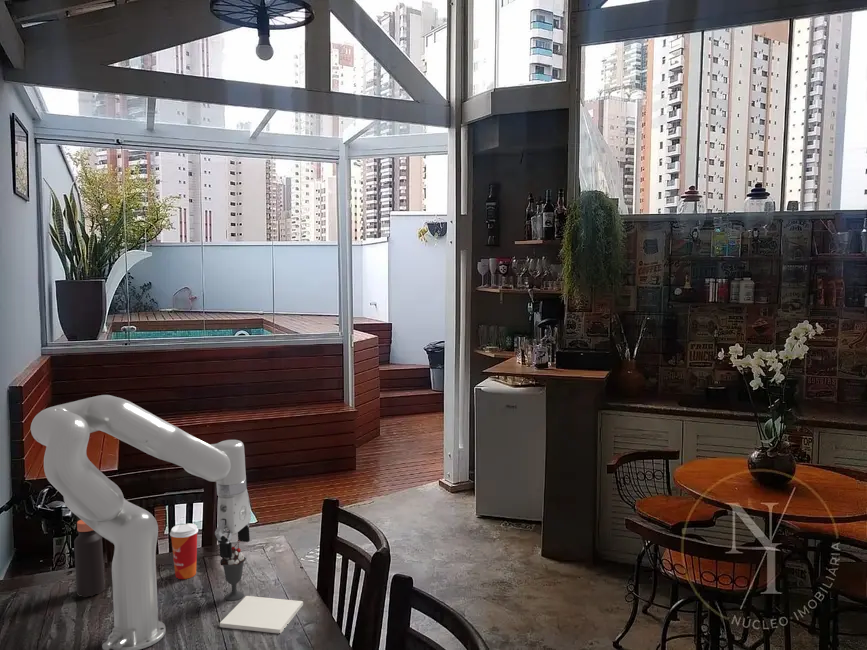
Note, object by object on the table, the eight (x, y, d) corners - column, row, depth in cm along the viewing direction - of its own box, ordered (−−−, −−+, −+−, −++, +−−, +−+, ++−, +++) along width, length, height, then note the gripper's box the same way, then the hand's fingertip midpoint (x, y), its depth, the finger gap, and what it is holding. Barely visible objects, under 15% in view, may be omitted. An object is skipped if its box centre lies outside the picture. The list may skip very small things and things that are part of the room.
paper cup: (170, 572, 193) (168, 525, 192) (198, 567, 196) (196, 521, 195) (172, 583, 186) (170, 535, 185) (201, 578, 189) (199, 530, 188)
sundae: (251, 590, 182) (249, 537, 180) (241, 603, 175) (239, 547, 174) (227, 589, 182) (225, 536, 181) (217, 601, 176) (215, 546, 174)
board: (280, 633, 160) (280, 629, 160) (219, 627, 163) (219, 623, 163) (303, 604, 174) (303, 601, 174) (246, 599, 177) (246, 595, 177)
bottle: (103, 595, 180) (99, 523, 178) (75, 599, 177) (71, 527, 176) (105, 584, 186) (102, 514, 184) (78, 588, 184) (74, 518, 182)
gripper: (228, 499, 167) (232, 564, 169) (259, 477, 184) (262, 536, 186) (201, 498, 169) (205, 562, 170) (234, 475, 186) (238, 534, 187)
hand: (235, 549), depth 178 cm, fingers open, 9 cm apart
